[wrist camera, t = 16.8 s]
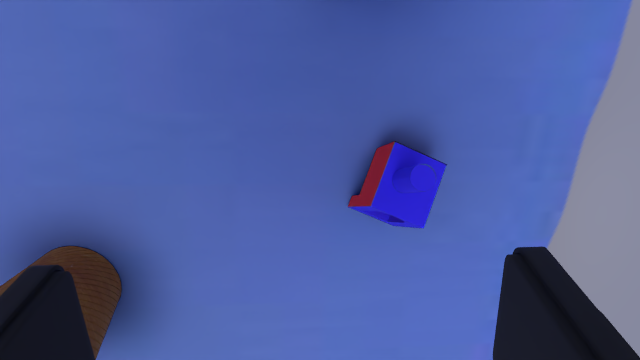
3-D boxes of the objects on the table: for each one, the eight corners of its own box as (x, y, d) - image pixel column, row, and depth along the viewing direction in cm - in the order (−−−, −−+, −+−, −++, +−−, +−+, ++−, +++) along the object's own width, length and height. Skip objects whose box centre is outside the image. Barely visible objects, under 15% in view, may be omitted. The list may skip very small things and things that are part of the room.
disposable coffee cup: (130, 221, 35) (43, 334, 24) (154, 332, 38) (88, 475, 27) (-5, 228, 35) (-154, 344, 24) (32, 338, 38) (-84, 483, 27)
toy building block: (413, 171, 35) (469, 159, 28) (393, 226, 35) (444, 230, 27) (369, 151, 35) (413, 134, 27) (347, 207, 34) (386, 206, 26)
